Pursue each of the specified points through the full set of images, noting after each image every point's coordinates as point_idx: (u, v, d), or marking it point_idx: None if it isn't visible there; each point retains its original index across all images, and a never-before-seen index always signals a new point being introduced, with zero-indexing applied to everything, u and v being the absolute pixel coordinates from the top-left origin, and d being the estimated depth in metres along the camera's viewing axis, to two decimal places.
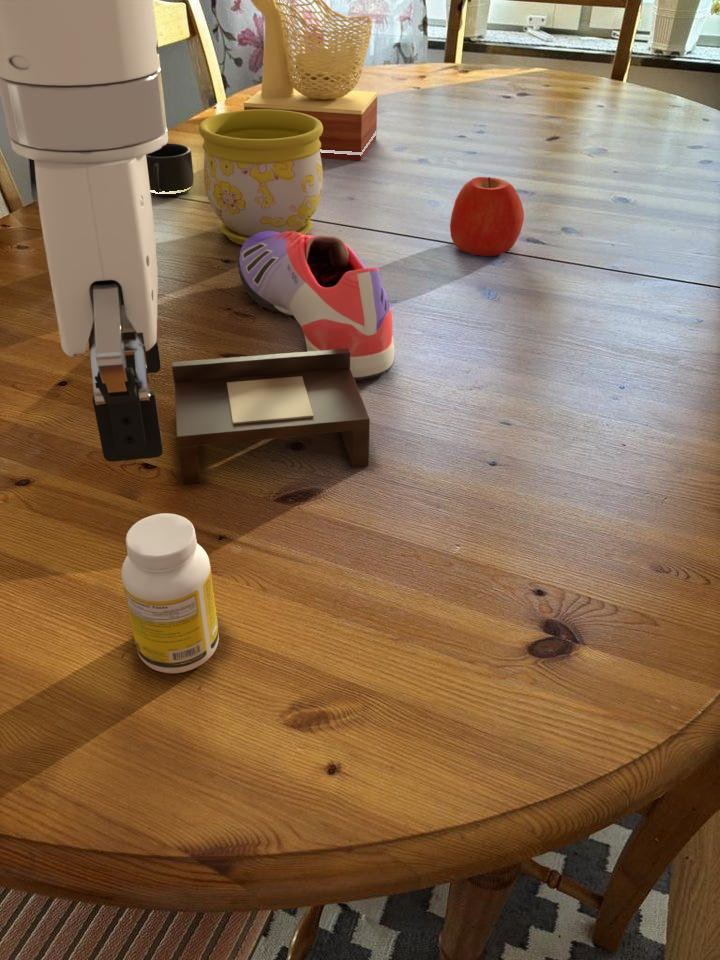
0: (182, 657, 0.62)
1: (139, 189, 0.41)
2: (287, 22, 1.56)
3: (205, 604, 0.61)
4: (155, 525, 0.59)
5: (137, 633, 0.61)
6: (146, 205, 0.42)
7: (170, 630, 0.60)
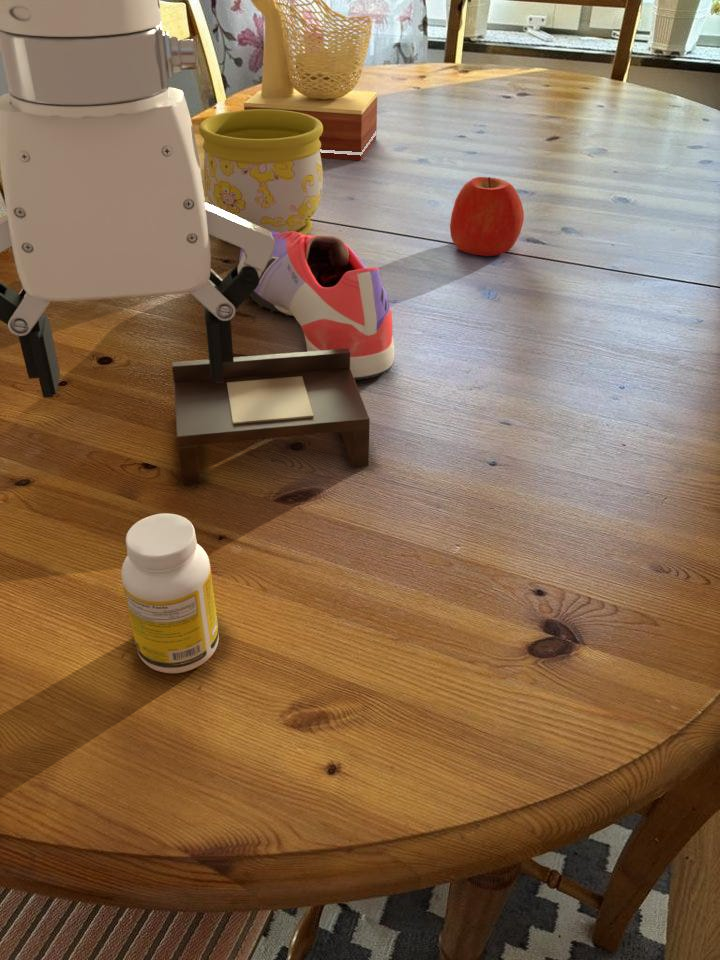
0: (182, 657, 0.62)
1: (20, 143, 0.41)
2: (287, 22, 1.56)
3: (205, 604, 0.61)
4: (155, 525, 0.59)
5: (137, 633, 0.61)
6: (44, 166, 0.41)
7: (170, 630, 0.60)
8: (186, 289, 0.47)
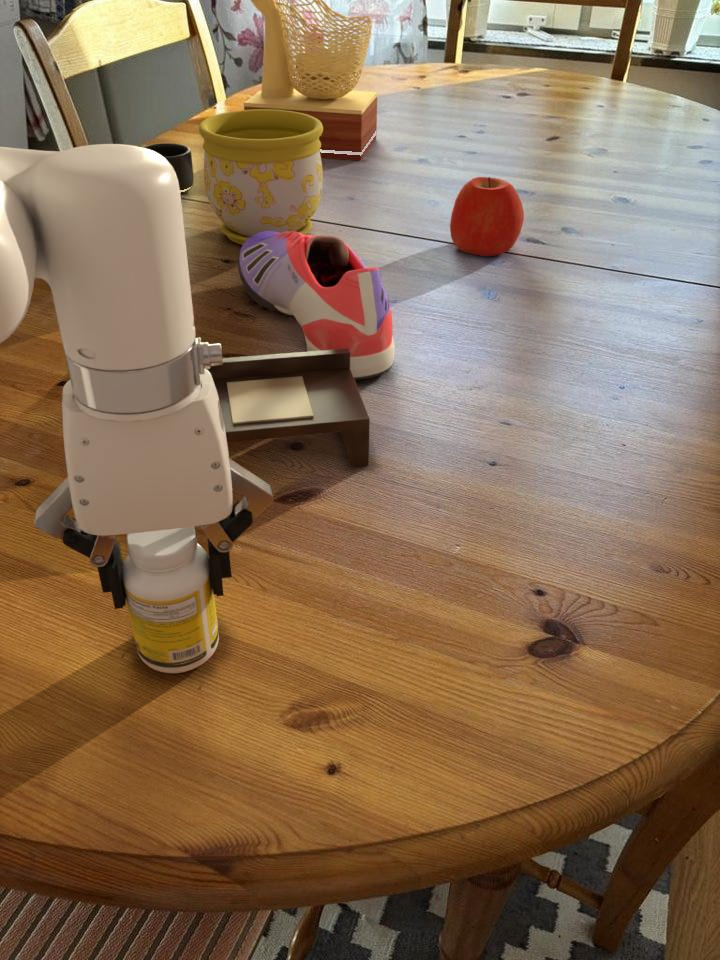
0: (182, 657, 0.62)
1: (81, 432, 0.51)
2: (287, 22, 1.56)
3: (205, 604, 0.61)
4: None
5: (137, 633, 0.61)
6: (99, 448, 0.51)
7: (170, 630, 0.60)
8: (212, 522, 0.57)
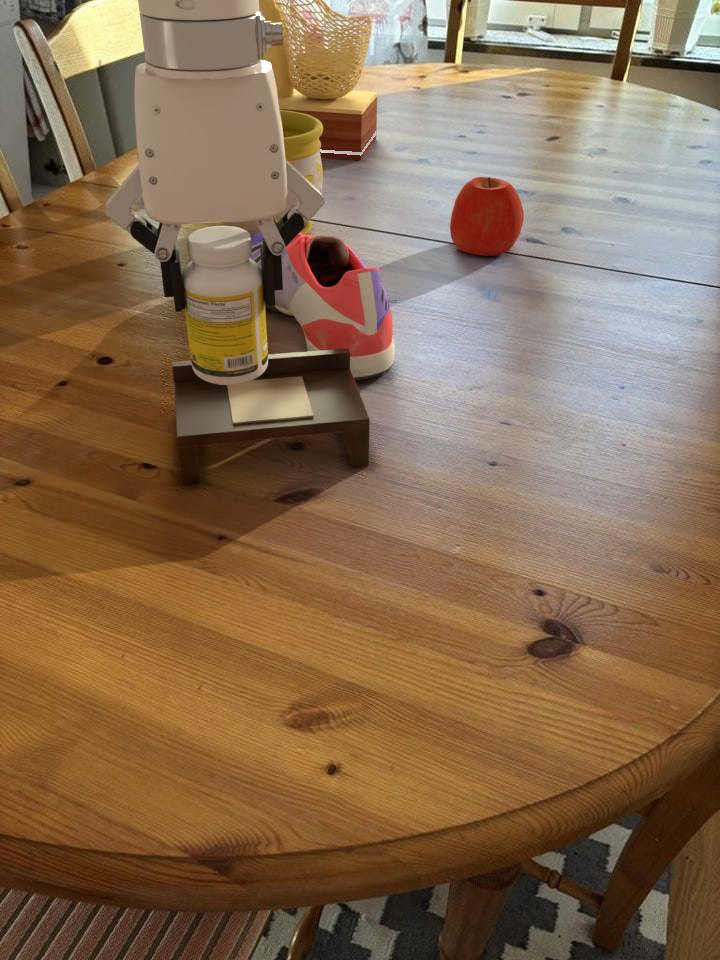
0: (235, 365, 0.66)
1: (154, 99, 0.55)
2: (287, 22, 1.56)
3: (258, 312, 0.65)
4: (214, 232, 0.64)
5: (194, 341, 0.66)
6: (170, 117, 0.56)
7: (226, 332, 0.65)
8: (268, 216, 0.61)
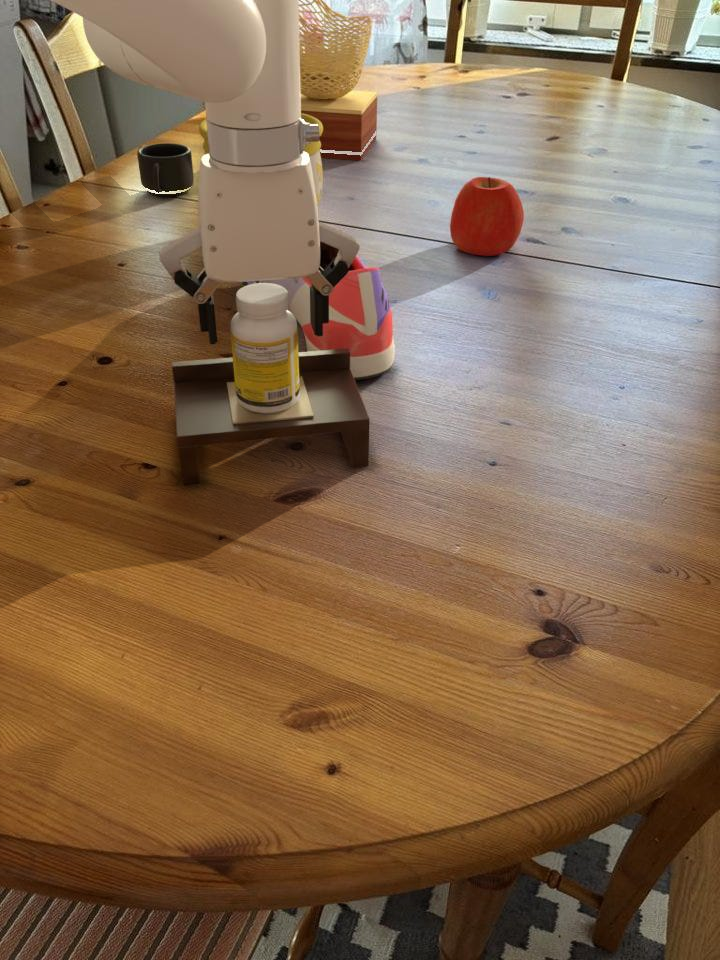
0: (274, 397, 0.80)
1: (216, 186, 0.69)
2: None
3: (293, 353, 0.79)
4: (257, 288, 0.78)
5: (240, 377, 0.80)
6: (229, 200, 0.69)
7: (267, 371, 0.78)
8: (304, 275, 0.75)
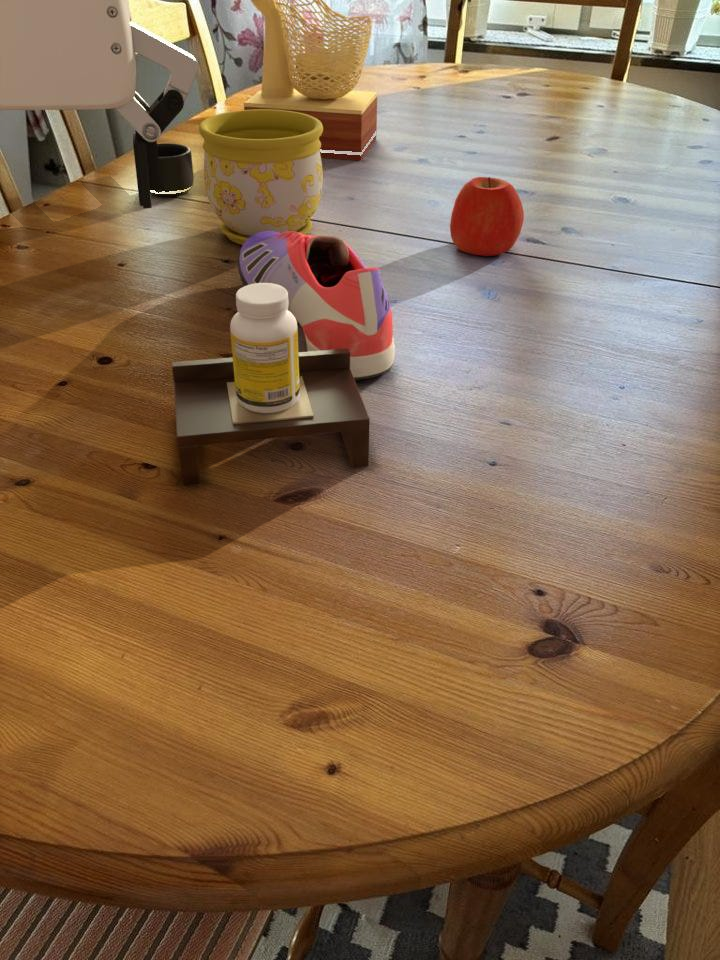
0: (274, 397, 0.80)
1: None
2: (287, 22, 1.56)
3: (293, 353, 0.79)
4: (257, 288, 0.78)
5: (240, 377, 0.80)
6: None
7: (267, 371, 0.78)
8: (112, 103, 0.50)
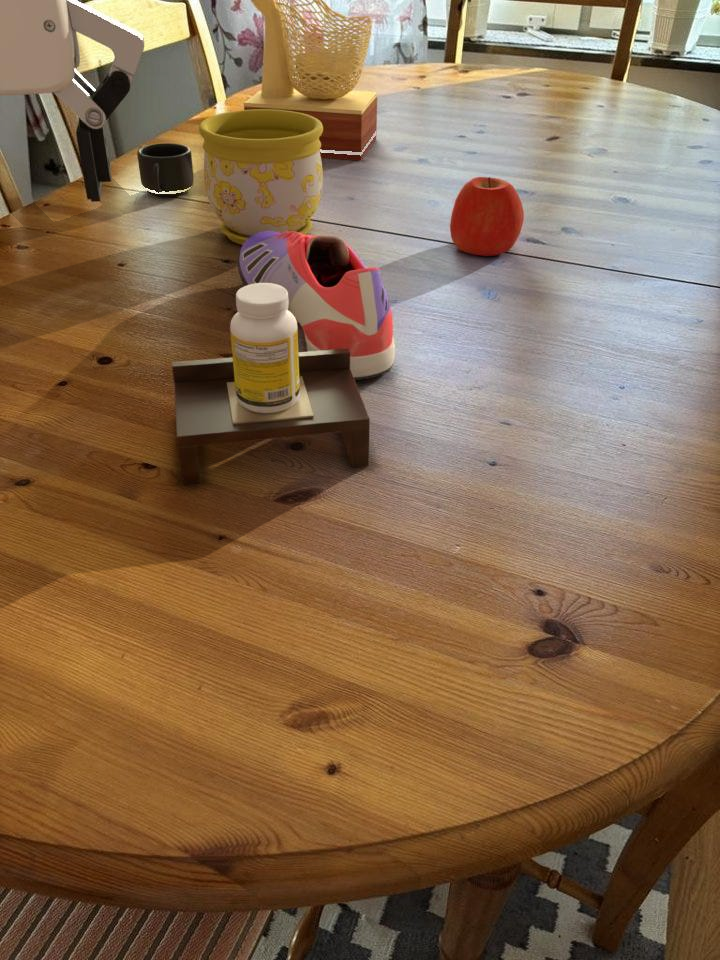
0: (274, 397, 0.80)
1: None
2: (287, 22, 1.56)
3: (293, 353, 0.79)
4: (257, 288, 0.78)
5: (240, 377, 0.80)
6: None
7: (267, 371, 0.78)
8: (49, 87, 0.45)
